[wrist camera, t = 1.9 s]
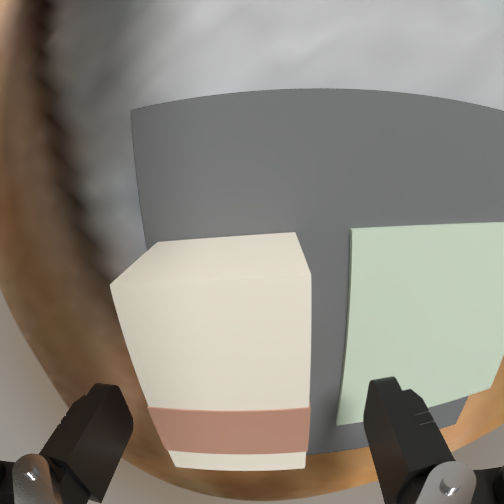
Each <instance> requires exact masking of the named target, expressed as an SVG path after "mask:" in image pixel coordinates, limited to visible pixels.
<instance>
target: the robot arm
mask: <svg viewBox="0 0 504 504" xmlns="http://www.w3.org/2000/svg"><path fill="white" fill-rule="evenodd" d="M363 424H364V430H365V434H366V437H367V441H368V444H369V447H370V451H371V454H372V458H373V461H374V465H375V469H376V472H377V476H378V479H379V483H380V487H381V490H382V494H383V498H384V502H385V504H504V466H503V467H498V468H491V469H484V470H472V469H471V468H470V467H469V466H468V465H466V464H464V463H462V462H456V461H455V459H454V458H453V456H452V454H451V452H450V450H449V448H448V446H447V444H446V442H445V440H444V438H443V436H442V434H441V432H440V430H439V428H438V426H437V424H436V422H434V419H433V417H432V415H431V413H430V412H429V409H428V407H427V406H426V404H425V402H424V400H423V398H422V397H420V396H419V395H418V394H417V393H415V392H414V391H413V390H412V389H407V390H403V391H402V389H401V387H400V385H399V383H398V381H397V379H396V378H395V377H394V376H391V377H386V378H380V379H374V380H371V381H370V382H369V386H368V392H367V398H366V403H365V409H364V414H363ZM132 431H133V418H132V415H131V413H130V411H129V409H128V406H127V404H126V402H125V399H124V397H123V395H122V392H121V390H120V388H119V387H118V386H116V385H109V384H101V383H96V384H95V385H94V386H93V387H92V388H91V390H90V391H89V393H88V394H87V396H85V395H84V396H83V397H81V398H80V399H79V400H77V401H76V402H75V403H73V405H72V406H71V407H70V409H69V410H68V412H67V413H66V416H64V418H63V419H62V420H61V424H59V425H58V426H57V428H56V429H55V431H54V432H53V434H52V435H51V437H50V438H49V440H48V441H47V443H46V444H45V446H44V447H43V449H42V450H41V452H40V453H39V454H27V455H24V456H22V457H21V458H19V459H18V460H17V461H16V462H6V461H0V504H87V502H88V500H92V501H96V502H99V503H101V502H102V500H103V498H104V495H105V493H106V491H107V488H108V486H109V484H110V481H111V479H112V477H113V474H114V472H115V470H116V467H117V465H118V463H119V461H120V458H121V456H122V454H123V452H124V450H125V447H126V445H127V443H128V441H129V438H130V436H131V434H132Z"/></svg>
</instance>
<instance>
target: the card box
mask: <svg viewBox="0 0 504 504" xmlns="http://www.w3.org/2000/svg"><path fill="white" fill-rule="evenodd" d="M110 289H111V293H112V297H113V300H114V304H115V308H116V311H117V315H118V319H119V322H120V325H121V329H122V332H123V335H124V339H125V342H126V345H127V348H128V351H129V354H130V357H131V360H132V363H133V366H134V369H135V372H136V375H137V377H138V380H139V383H140V385H141V388H142V391H143V393H144V396H145V399H146V401H147V404H148V406H147V409H148V411H149V414H150V416H151V419H152V421H153V423H154V426H155V428H156V430H157V432H158V435H159V437H160V439H161V441H162V443H163V445H164V448H165V450H168V452H169V454H170V456H171V458H172V460H173V462H174V464H175V466H176V467H182V468H193V469H206V470H227V471H268V470H289V469H302V468H305V460H306V452H308V442H309V428H310V412H311V407H310V400H309V394H310V367H311V273H310V270H309V267H308V265H307V262H306V259H305V257H304V254H303V251H302V249H301V246H300V243H299V241H298V238H297V236H296V233H295V232H289V233H273V234H258V235H243V236H229V237H215V238H201V239H188V240H175V241H162V242H157V243H156V244H155V245H153V246H152V247H151V248H150V249H149V250H148V251H147V252H145V253H144V254H143V255H142V256H141V257H140V258H139V259H138V260H136V261H135V262H134V263H133V264H132V265H131V266H130V267H129V268H127V269H126V270H125V271H124V272H123V273H122V274H121V275H120V276H119V277H118V278H117V279H115V280H114V281H113V282H112V283H111V284H110Z"/></svg>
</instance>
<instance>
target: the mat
mask: <svg viewBox="0 0 504 504" xmlns="http://www.w3.org/2000/svg"><path fill="white" fill-rule="evenodd" d="M131 124H132V137H133V148H134V159H135V168H136V177H137V185H138V193H139V201H140V208H141V215H142V222H143V228H144V234H145V240H146V246H147V251H148V250H149V249H150V248H151V247H152V246H153V245H155V244H156V243H157V242H162V241H175V240H188V239H201V238H215V237H229V236H243V235H258V234H273V233H289V232H295V233H296V236H297V238H298V241H299V243H300V246H301V249H302V251H303V254H304V257H305V259H306V262H307V265H308V267H309V270H310V273H311V367H310V394H309V400H310V407H311V412H310V428H309V442H308V452H306V455H313V454H322V453H330V452H338V451H345V450H351V449H357V448H363V447H369V444H368V441H367V437H366V434H365V430H364V424H363V414H364V409H365V403H366V398H367V392H368V386H369V382H370V381H371V380H374V379H380V378H386V377H391V376H394V377H395V378H396V379H397V381H398V383H399V385H400V387H401V389H402V391H403V390H407V389H412V390H413V391H414V392H415V393H417V394H418V395H419V396H420V397H422V398H423V400H424V402H425V404H426V406H427V407H428V409H429V412H430V413H431V415H432V417H433V419H434V422H436V424H437V426H438V428H439V429H441V428H444V427H447V426H450V425H453V424H456V422H457V420H458V418H459V415H460V413H461V411H462V409H463V407H464V405H465V403H466V400H467V398H468V396H469V395H472V394H475V393H478V392H480V391H483V390H486V389H489V388H490V387H491V385H492V383H493V380H494V378H495V376H496V373H497V371H498V368H499V366H500V363H501V361H502V358H503V355H504V111H502V110H498V109H494V108H490V107H486V106H481V105H477V104H472V103H467V102H462V101H456V100H451V99H445V98H439V97H432V96H425V95H417V94H409V93H400V92H389V91H376V90H359V89H280V90H263V91H249V92H238V93H229V94H220V95H212V96H204V97H197V98H191V99H184V100H178V101H172V102H167V103H162V104H156V105H151V106H147V107H142V108H137V109H133V110H131Z"/></svg>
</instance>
